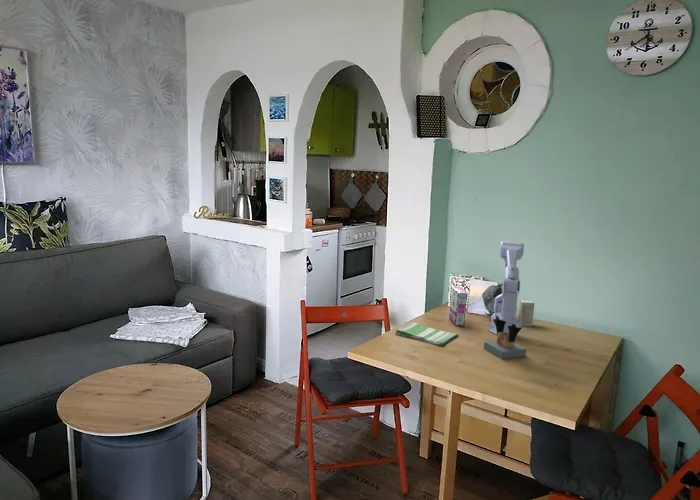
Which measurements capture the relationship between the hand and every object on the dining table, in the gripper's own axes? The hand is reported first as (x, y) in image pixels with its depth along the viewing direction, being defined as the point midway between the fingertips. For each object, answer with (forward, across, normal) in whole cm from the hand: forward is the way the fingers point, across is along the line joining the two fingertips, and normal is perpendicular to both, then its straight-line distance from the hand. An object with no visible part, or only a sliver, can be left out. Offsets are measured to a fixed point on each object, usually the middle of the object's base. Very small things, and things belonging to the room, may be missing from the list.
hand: (505, 338), depth 212 cm
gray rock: (+6, -41, +25) cm, 48 cm away
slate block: (+6, 0, 0) cm, 6 cm away
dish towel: (+7, -27, -22) cm, 35 cm away
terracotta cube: (+3, 0, 0) cm, 3 cm away
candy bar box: (+6, -40, +3) cm, 41 cm away
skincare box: (+6, -28, +35) cm, 45 cm away
